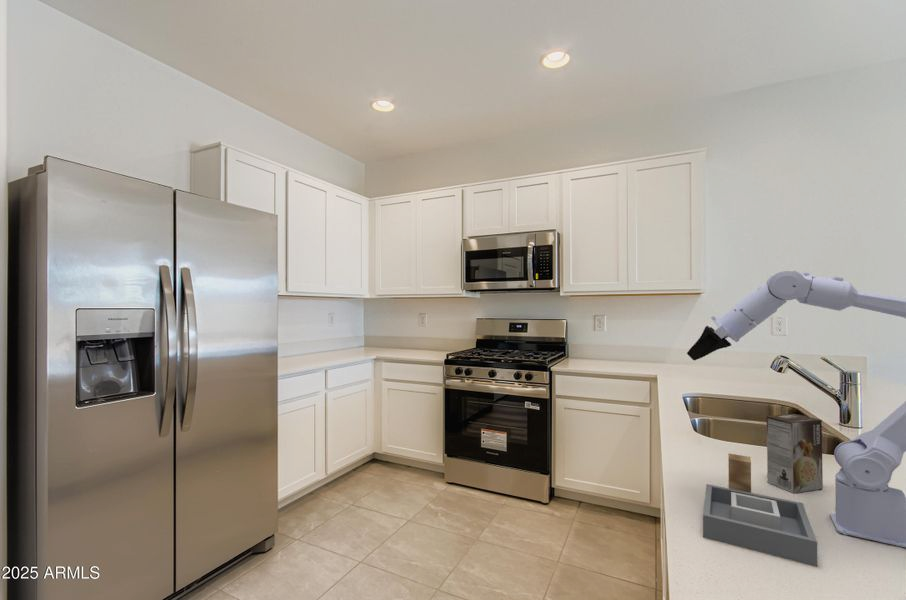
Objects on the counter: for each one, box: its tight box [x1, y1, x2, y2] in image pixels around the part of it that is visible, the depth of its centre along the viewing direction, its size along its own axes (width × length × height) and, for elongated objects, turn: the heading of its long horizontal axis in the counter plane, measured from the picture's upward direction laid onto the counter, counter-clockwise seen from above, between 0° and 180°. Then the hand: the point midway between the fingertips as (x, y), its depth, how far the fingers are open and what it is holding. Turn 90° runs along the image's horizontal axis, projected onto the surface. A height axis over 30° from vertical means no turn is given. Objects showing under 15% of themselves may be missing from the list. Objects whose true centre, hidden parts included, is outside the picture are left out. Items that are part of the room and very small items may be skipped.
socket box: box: [702, 483, 818, 567], centre depth 80 cm, size 16×16×5 cm
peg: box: [727, 453, 752, 493], centre depth 93 cm, size 4×4×9 cm
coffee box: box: [766, 413, 824, 494], centre depth 99 cm, size 9×6×16 cm
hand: (692, 356), depth 95 cm, fingers open, 7 cm apart
